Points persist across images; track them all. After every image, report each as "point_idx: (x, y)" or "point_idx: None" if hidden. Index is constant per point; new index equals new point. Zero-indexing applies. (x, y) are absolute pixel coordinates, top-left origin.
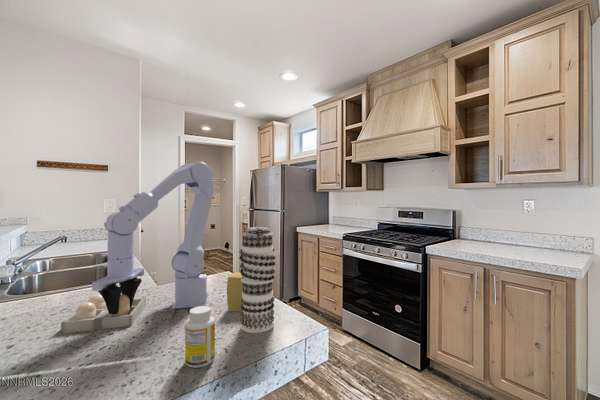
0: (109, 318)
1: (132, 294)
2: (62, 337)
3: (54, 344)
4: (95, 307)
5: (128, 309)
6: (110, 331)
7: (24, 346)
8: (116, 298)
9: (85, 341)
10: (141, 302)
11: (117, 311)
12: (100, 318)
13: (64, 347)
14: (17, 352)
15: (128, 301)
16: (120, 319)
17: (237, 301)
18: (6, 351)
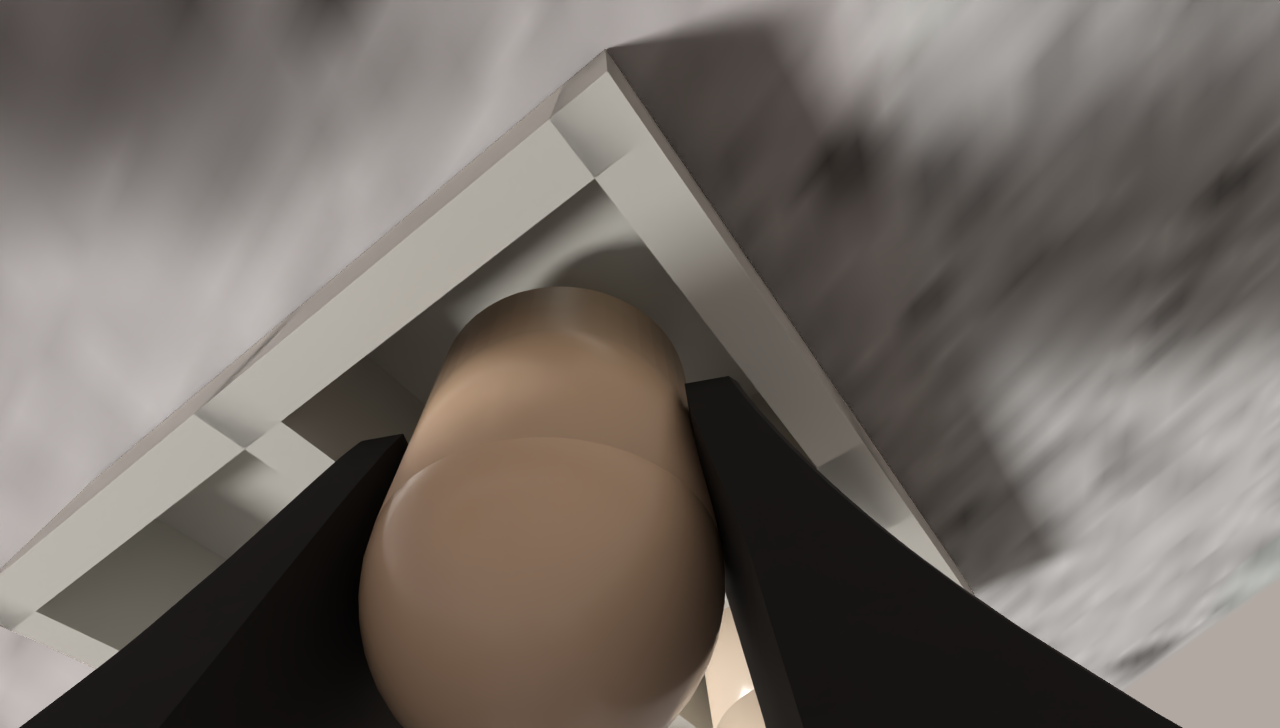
0: (810, 371)
1: (232, 637)
2: (993, 527)
3: (1131, 460)
4: (761, 718)
5: (485, 358)
6: (793, 239)
7: (1150, 599)
8: (929, 602)
9: (1075, 259)
10: (106, 502)
11: (711, 391)
12: (863, 464)
13: (1207, 325)
14: (1249, 553)
15: (452, 471)
16: (720, 229)
17: None
18: (1219, 616)
